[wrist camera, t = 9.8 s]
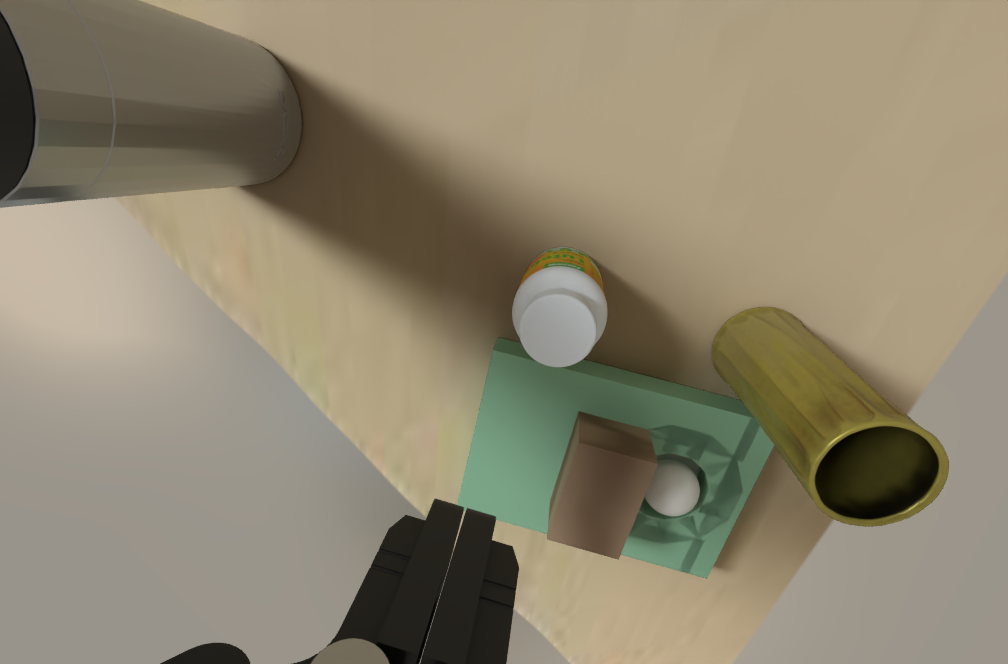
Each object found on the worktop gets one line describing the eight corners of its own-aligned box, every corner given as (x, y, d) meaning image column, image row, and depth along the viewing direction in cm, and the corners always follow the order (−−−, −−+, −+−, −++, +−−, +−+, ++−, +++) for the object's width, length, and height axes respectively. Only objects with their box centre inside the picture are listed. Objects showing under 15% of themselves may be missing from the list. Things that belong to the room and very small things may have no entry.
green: (463, 488, 41) (456, 508, 38) (498, 337, 36) (492, 350, 33) (699, 553, 40) (706, 578, 37) (770, 407, 35) (784, 426, 32)
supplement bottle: (590, 235, 32) (595, 266, 23) (610, 309, 34) (623, 366, 25) (513, 259, 34) (490, 297, 25) (536, 329, 35) (523, 390, 26)
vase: (702, 383, 35) (780, 524, 21) (721, 300, 33) (821, 401, 19) (792, 393, 34) (929, 546, 21) (818, 310, 32) (990, 422, 19)
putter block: (549, 500, 37) (546, 539, 33) (578, 411, 34) (579, 442, 30) (614, 518, 37) (618, 559, 33) (649, 430, 34) (658, 464, 30)
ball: (699, 531, 35) (659, 505, 38) (720, 478, 35) (678, 458, 38) (660, 520, 33) (622, 494, 36) (682, 465, 33) (642, 445, 37)
